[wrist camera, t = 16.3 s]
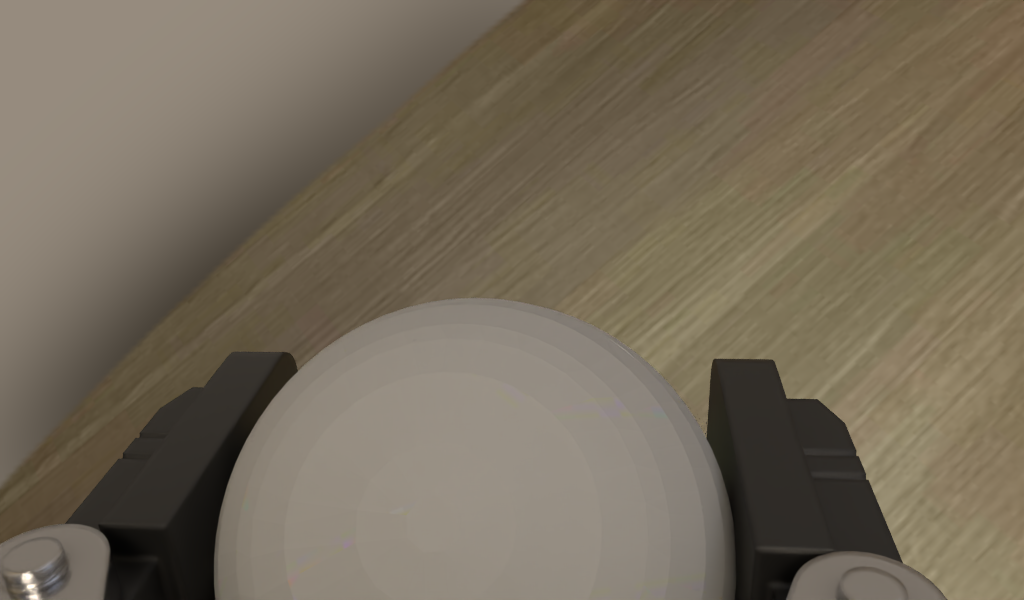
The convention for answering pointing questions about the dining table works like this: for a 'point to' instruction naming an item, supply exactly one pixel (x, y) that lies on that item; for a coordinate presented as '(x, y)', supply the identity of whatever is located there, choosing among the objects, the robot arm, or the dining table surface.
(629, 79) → the dining table surface
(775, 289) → the dining table surface
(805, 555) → the robot arm
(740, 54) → the dining table surface
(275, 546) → the light bulb
